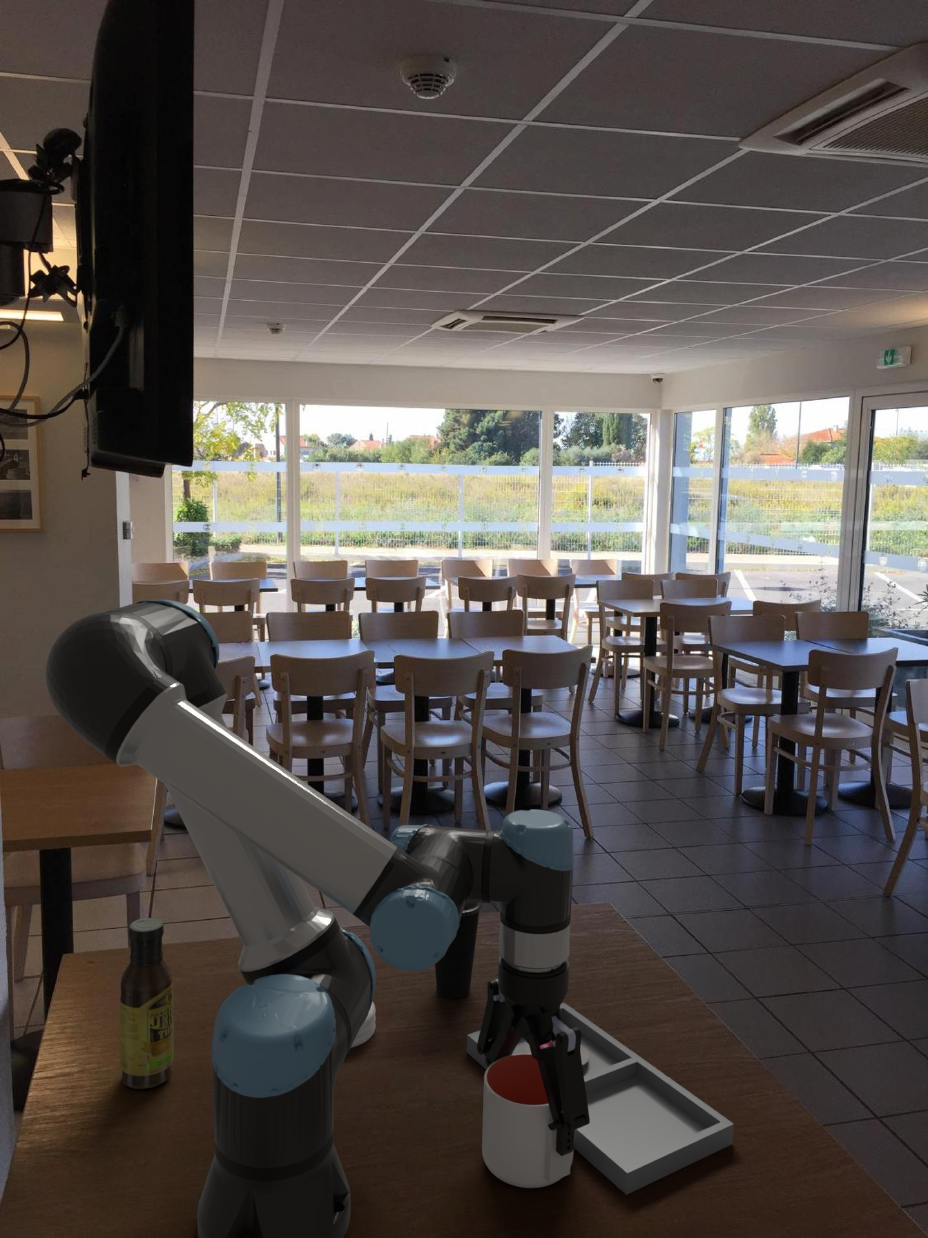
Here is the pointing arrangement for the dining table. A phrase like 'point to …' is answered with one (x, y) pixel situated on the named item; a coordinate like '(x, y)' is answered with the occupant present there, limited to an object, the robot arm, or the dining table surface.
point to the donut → (527, 1050)
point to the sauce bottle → (146, 1009)
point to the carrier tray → (634, 1112)
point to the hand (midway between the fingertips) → (527, 1148)
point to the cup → (516, 1121)
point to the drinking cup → (459, 956)
